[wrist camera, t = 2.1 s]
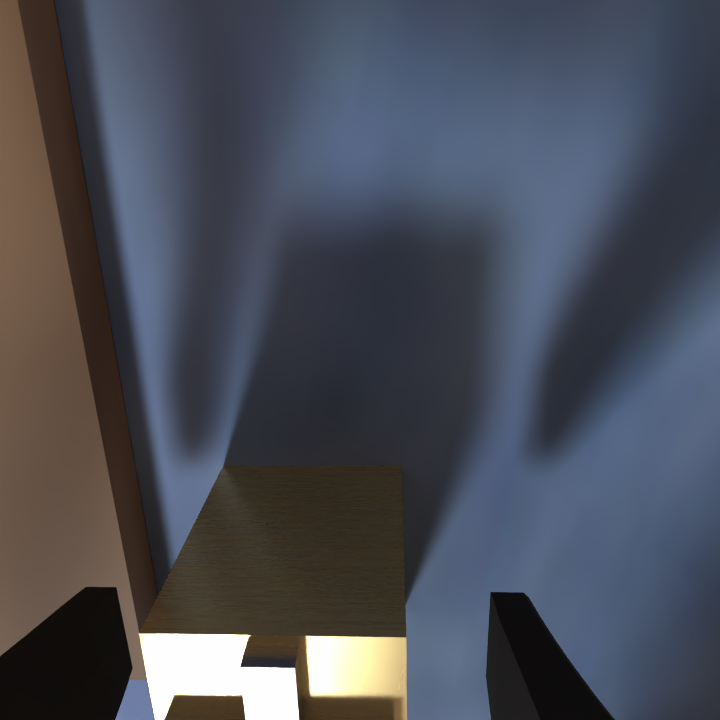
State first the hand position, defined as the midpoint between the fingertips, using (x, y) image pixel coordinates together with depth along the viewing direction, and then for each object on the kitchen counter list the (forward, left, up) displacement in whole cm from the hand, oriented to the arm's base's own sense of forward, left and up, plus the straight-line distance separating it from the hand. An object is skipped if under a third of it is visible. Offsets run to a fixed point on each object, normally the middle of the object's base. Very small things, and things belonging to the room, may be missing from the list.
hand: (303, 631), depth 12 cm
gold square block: (0, 0, -3) cm, 3 cm away
